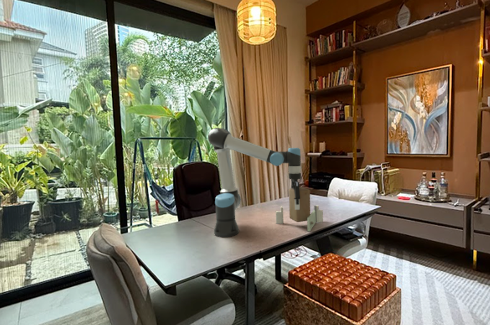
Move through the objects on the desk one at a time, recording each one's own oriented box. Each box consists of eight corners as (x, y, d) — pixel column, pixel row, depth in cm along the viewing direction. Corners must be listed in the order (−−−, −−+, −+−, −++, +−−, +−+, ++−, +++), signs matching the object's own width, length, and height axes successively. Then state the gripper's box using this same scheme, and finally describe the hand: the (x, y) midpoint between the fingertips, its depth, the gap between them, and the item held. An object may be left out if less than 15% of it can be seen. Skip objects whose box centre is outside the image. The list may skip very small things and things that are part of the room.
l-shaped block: (276, 223, 176) (275, 207, 175) (276, 223, 178) (275, 206, 177) (323, 222, 175) (322, 205, 174) (322, 221, 177) (321, 205, 176)
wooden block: (311, 220, 165) (310, 189, 163) (297, 223, 162) (296, 191, 160) (302, 216, 175) (301, 186, 173) (289, 218, 171) (288, 188, 169)
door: (313, 222, 175) (313, 210, 174) (318, 222, 174) (317, 210, 173) (307, 231, 158) (307, 218, 157) (312, 231, 157) (312, 218, 156)
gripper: (304, 174, 153) (305, 211, 155) (297, 170, 177) (297, 202, 179) (291, 175, 153) (292, 212, 155) (286, 170, 177) (286, 202, 179)
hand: (295, 207), depth 167 cm, fingers closed on wooden block, 11 cm apart
